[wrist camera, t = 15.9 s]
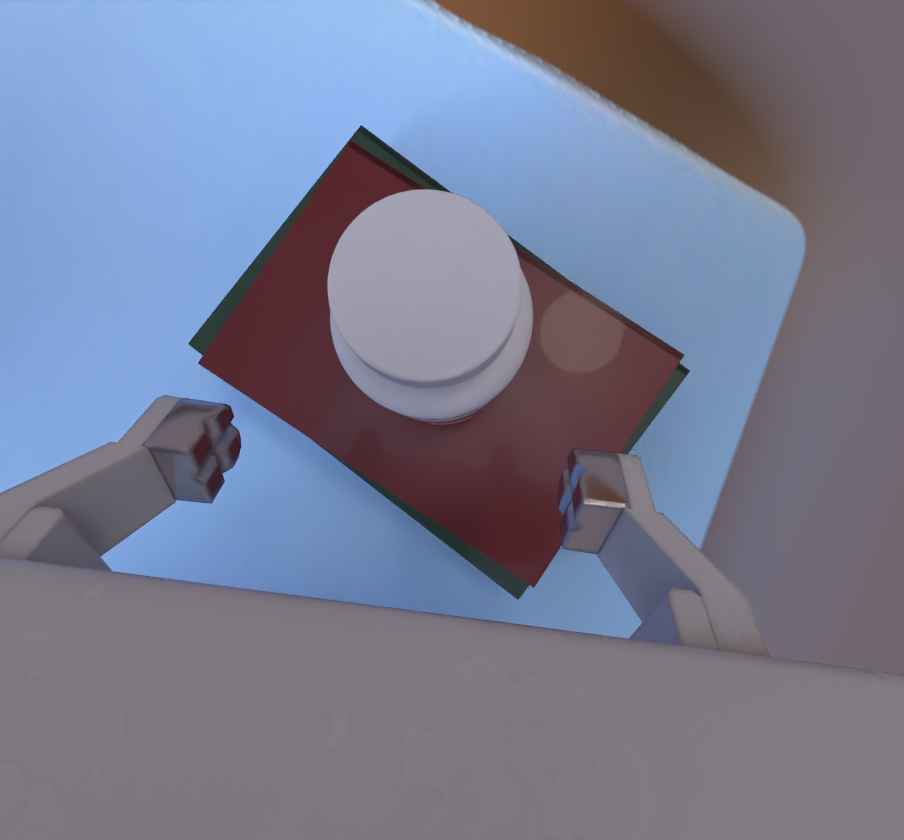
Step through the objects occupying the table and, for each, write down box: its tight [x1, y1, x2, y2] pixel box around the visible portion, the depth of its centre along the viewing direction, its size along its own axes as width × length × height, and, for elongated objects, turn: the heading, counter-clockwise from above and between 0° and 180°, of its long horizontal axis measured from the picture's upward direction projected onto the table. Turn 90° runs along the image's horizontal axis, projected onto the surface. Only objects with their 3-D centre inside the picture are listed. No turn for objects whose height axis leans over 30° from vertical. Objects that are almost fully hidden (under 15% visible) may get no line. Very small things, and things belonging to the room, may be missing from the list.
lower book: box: [188, 125, 690, 599], centre depth 26 cm, size 22×15×3 cm
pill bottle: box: [328, 189, 533, 425], centre depth 16 cm, size 6×6×11 cm
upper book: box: [198, 140, 684, 587], centre depth 23 cm, size 19×13×3 cm
